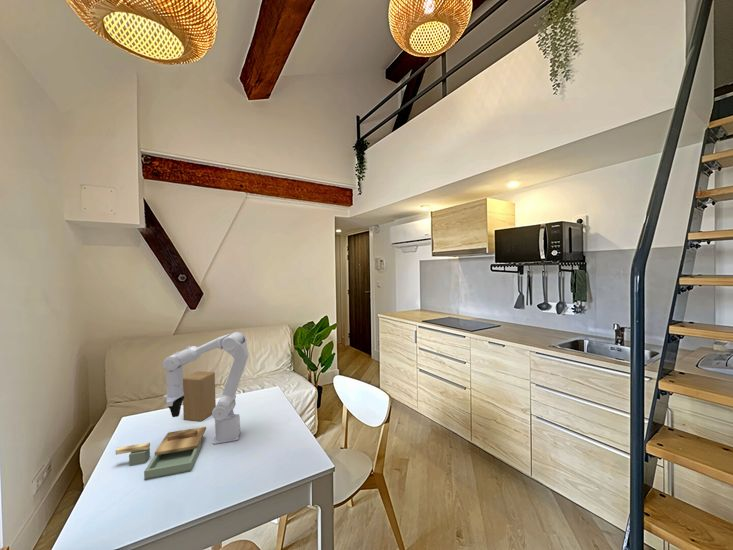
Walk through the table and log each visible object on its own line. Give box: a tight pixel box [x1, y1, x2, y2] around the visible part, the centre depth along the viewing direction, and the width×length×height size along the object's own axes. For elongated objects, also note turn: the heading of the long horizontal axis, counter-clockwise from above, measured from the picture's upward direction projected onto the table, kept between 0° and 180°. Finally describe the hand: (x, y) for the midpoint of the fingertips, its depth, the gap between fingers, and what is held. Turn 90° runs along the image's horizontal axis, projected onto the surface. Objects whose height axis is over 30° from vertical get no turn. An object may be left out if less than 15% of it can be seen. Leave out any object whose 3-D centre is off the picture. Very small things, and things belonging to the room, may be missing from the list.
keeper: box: [128, 446, 151, 467], centre depth 110 cm, size 5×4×4 cm
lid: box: [154, 426, 207, 456], centre depth 117 cm, size 14×14×2 cm
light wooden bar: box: [115, 442, 151, 455], centre depth 109 cm, size 10×2×2 cm, turn 107°
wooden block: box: [182, 370, 217, 422], centre depth 144 cm, size 10×10×20 cm
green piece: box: [143, 440, 202, 481], centre depth 109 cm, size 14×14×3 cm
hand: (175, 416), depth 123 cm, fingers closed
